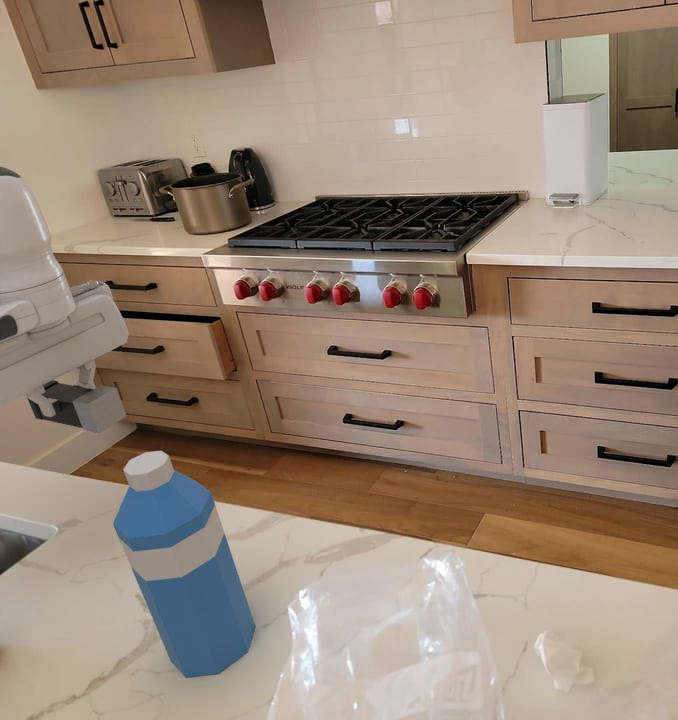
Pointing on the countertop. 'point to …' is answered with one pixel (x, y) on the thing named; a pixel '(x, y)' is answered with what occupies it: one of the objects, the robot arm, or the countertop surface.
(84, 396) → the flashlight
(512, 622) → the countertop surface
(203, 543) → the water bottle
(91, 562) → the countertop surface
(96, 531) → the countertop surface
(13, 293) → the robot arm
